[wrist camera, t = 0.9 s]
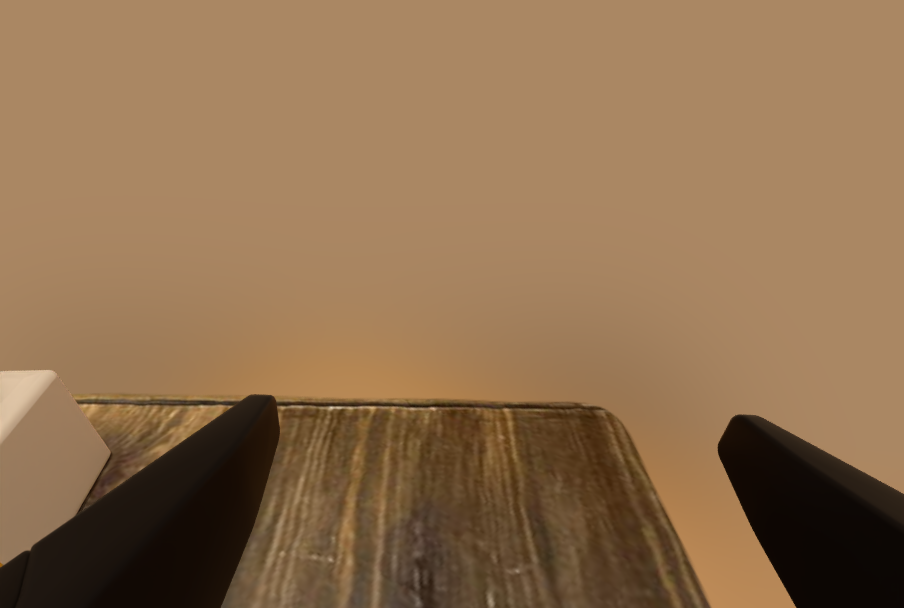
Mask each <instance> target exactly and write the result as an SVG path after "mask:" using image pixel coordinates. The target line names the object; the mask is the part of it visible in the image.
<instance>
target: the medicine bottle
mask: <svg viewBox="0 0 904 608" xmlns="http://www.w3.org/2000/svg"><path fill="white" fill-rule="evenodd" d="M110 454H111V453H110V450H109V449H108V447H107V446H106V444H105V443H104V441H103V440H102V438H101V437H100V436H99V434H98V433H97V431H96V430H95V428H94V427H93V426H92V424H91V423H90V421H89V420H88V418H87V417H86V415H85V414H84V413H83V411H82V410H81V408H80V407H79V405H78V404H77V402H76V401H75V400H74V398H73V397H72V395H71V394H70V393H69V391H68V390H67V388H66V387H65V385H64V384H63V382H62V381H61V380H60V378H59V377H58V375H57V374H56V372H54V371H52V370H33V371H31V370H30V371H0V567H2V566H3V565H4V564H6V563H7V562H9V561H10V560H12V559H13V558H15V557H16V556H17V555H19V554H20V553H22V552H23V551H26V550H29V551H30V550H31V547H32V546H33V545H34V544H35V543H37V542H38V541H39V540H41V539H42V538H44V537H45V536H47V535H48V534H50V533H51V532H52V531H54V530H55V529H57V528H58V527H60V526H61V525H63V524H64V523H65V522H67V521H68V520H70V519H71V518H73V517H74V516H76V514H77V512H78V510H79V509H80V507H81V505H82V504H83V502H84V500H85V498H86V497H87V495H88V493H89V491H90V490H91V488H92V486H93V484H94V483H95V481H96V479H97V477H98V476H99V474H100V472H101V471H102V469H103V467H104V465H105V464H106V462H107V460H108V458H109V457H110Z"/></svg>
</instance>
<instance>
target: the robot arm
mask: <svg viewBox="0 0 904 608" xmlns="http://www.w3.org/2000/svg"><path fill="white" fill-rule="evenodd" d="M279 435H280V427H279V419H278V412H277V404H276V400H275V398H274V397H273V396H272V395H257V394H254V395H249V396H248V397H246V398H244V399H243V400H242V401H240V402H239V403H237V404H236V405H234V406H233V407H231V408H230V409H229V410H227V411H226V412H224V413H223V414H221V415H220V416H218V417H217V418H216V419H214V420H213V421H211V422H210V423H208V424H207V425H205V426H204V427H203V428H201V429H200V430H198V431H197V432H195V433H194V434H192V435H191V436H190V437H188V438H187V439H185V440H184V441H182V442H181V443H179V444H178V445H177V446H175V447H174V448H172V449H171V450H169V451H168V452H167V453H165V454H164V455H162V456H161V457H159V458H158V459H156V460H155V461H154V462H152V463H151V464H149V465H148V466H146V467H145V468H143V469H142V470H141V471H139V472H138V473H136V474H135V475H133V476H132V477H130V478H129V479H128V480H126V481H125V482H123V483H122V484H120V485H119V486H117V487H116V488H115V489H113V490H112V491H110V492H109V493H107V494H106V495H104V496H103V497H102V498H100V499H99V500H97V501H96V502H94V503H93V504H91V505H90V506H89V507H87V508H86V509H84V510H83V511H81V512H80V513H78V514H77V515H76V516H74V517H73V518H71V519H70V520H68V521H67V522H65V523H64V524H63V525H61V526H60V527H58V528H57V529H55V530H54V531H52V532H51V533H50V534H48V535H47V536H45V537H44V538H42V539H41V540H39V541H38V542H37V543H35V544H34V545H33V546H32V547H31V550H30V551H29V550H26V551H23V552H22V553H20V554H19V555H17V556H16V557H15V558H13V559H12V560H10V561H9V562H7V563H6V564H4V565H3V566H2V567H0V608H221V605H222V603H223V601H224V598H225V596H226V593H227V591H228V588H229V586H230V583H231V581H232V578H233V576H234V574H235V571H236V569H237V566H238V564H239V561H240V559H241V556H242V554H243V551H244V549H245V547H246V544H247V542H248V539H249V537H250V534H251V531H252V529H253V526H254V523H255V520H256V517H257V514H258V511H259V507H260V504H261V500H262V497H263V493H264V490H265V486H266V483H267V479H268V476H269V473H270V469H271V466H272V462H273V459H274V455H275V452H276V448H277V445H278V441H279ZM718 454H719V457H720V460H721V462H722V464H723V466H724V468H725V470H726V473H727V475H728V477H729V479H730V481H731V483H732V486H733V488H734V490H735V492H736V495H737V497H738V499H739V501H740V503H741V506H742V508H743V510H744V512H745V514H746V516H747V519H748V521H749V523H750V525H751V527H752V529H753V531H754V532H755V535H756V537H757V539H758V540H759V542H760V544H761V546H762V548H763V549H764V551H765V553H766V555H767V556H768V558H769V560H770V562H771V564H772V565H773V567H774V569H775V571H776V572H777V574H778V576H779V578H780V580H781V581H782V583H783V585H784V587H785V588H786V590H787V592H788V594H789V595H790V597H791V599H792V601H793V603H794V604H795V606H796V608H904V494H903V493H901V492H899V491H897V490H895V489H894V488H892V487H890V486H888V485H886V484H884V483H882V482H881V481H878V480H877V479H875V478H873V477H871V476H869V475H868V474H866V473H864V472H862V471H860V470H858V469H856V468H855V467H853V466H851V465H849V464H847V463H845V462H843V461H841V460H840V459H838V458H836V457H834V456H832V455H830V454H828V453H827V452H825V451H823V450H821V449H819V448H817V447H816V446H814V445H812V444H810V443H808V442H806V441H804V440H803V439H801V438H799V437H797V436H795V435H793V434H791V433H790V432H788V431H786V430H784V429H782V428H780V427H779V426H776V425H775V424H773V423H771V422H769V421H767V420H766V419H764V418H761V417H759V416H756V415H735V416H734V417H733V418H732V419H731V420H730V422H729V424H728V426H727V428H726V430H725V432H724V434H723V435H722V437H721V439H720V441H719V443H718Z"/></svg>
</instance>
